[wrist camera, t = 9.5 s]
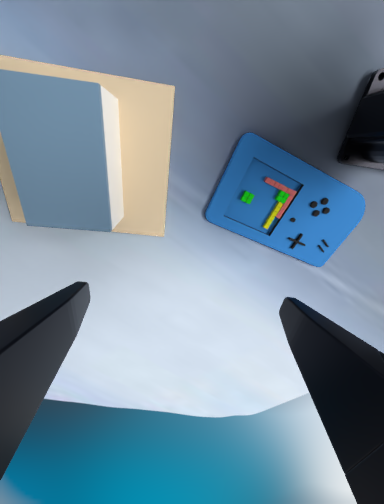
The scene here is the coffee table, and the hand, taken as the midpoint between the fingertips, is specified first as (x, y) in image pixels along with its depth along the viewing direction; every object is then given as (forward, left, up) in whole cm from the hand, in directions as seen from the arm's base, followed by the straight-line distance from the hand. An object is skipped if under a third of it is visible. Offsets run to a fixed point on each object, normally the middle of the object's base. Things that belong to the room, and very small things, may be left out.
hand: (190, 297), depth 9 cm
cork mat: (+9, -4, -12) cm, 16 cm away
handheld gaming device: (-10, -2, -13) cm, 16 cm away
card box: (+9, -4, -11) cm, 15 cm away
